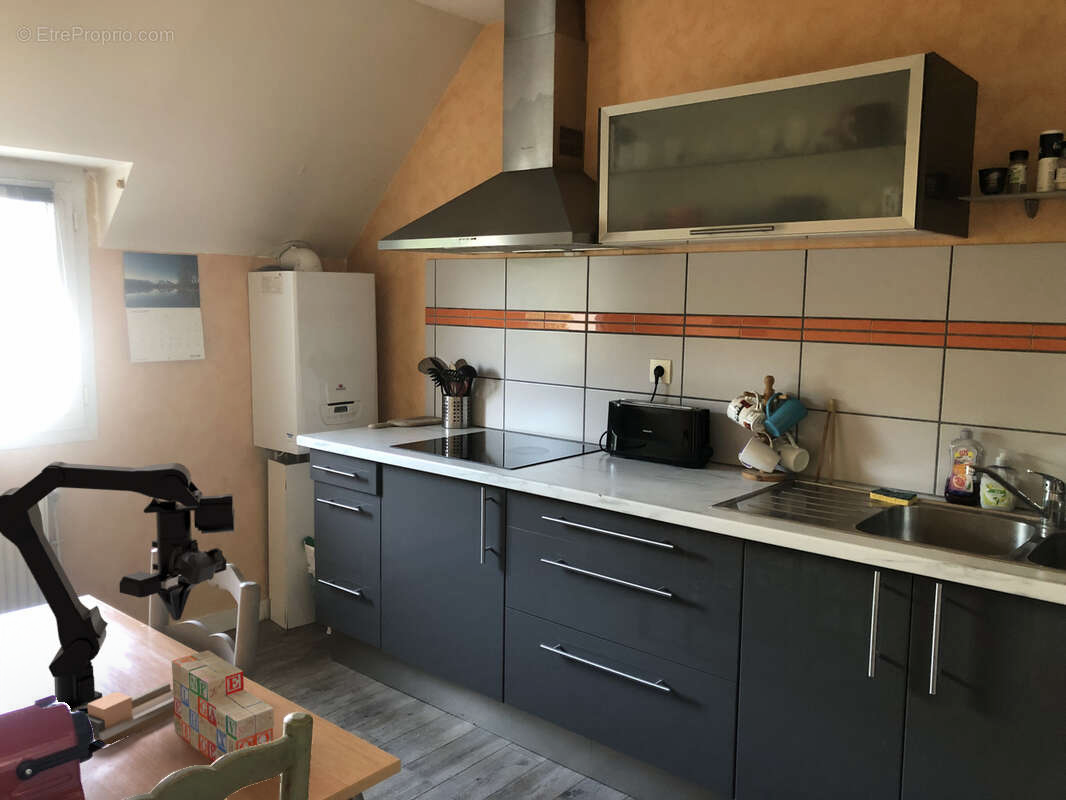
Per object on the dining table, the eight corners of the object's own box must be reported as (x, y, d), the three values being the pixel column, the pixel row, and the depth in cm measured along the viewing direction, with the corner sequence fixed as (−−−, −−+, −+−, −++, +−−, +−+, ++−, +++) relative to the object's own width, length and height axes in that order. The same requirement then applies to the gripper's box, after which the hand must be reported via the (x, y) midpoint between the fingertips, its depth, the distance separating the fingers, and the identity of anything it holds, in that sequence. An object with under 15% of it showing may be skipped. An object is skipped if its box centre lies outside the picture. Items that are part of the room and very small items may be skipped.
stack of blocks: (275, 766, 129) (273, 688, 128) (236, 782, 125) (234, 702, 123) (210, 718, 144) (208, 648, 143) (173, 731, 139) (171, 659, 138)
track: (75, 738, 136) (74, 714, 136) (166, 695, 151) (166, 674, 151) (103, 749, 133) (103, 724, 133) (194, 704, 148) (193, 682, 148)
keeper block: (88, 727, 136) (87, 703, 136) (116, 714, 141) (115, 691, 140) (104, 733, 135) (103, 709, 134) (132, 720, 139) (131, 697, 139)
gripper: (160, 554, 139) (163, 646, 141) (247, 529, 156) (248, 611, 157) (115, 544, 145) (119, 633, 146) (204, 521, 161) (206, 601, 163)
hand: (176, 619), depth 153 cm, fingers closed
